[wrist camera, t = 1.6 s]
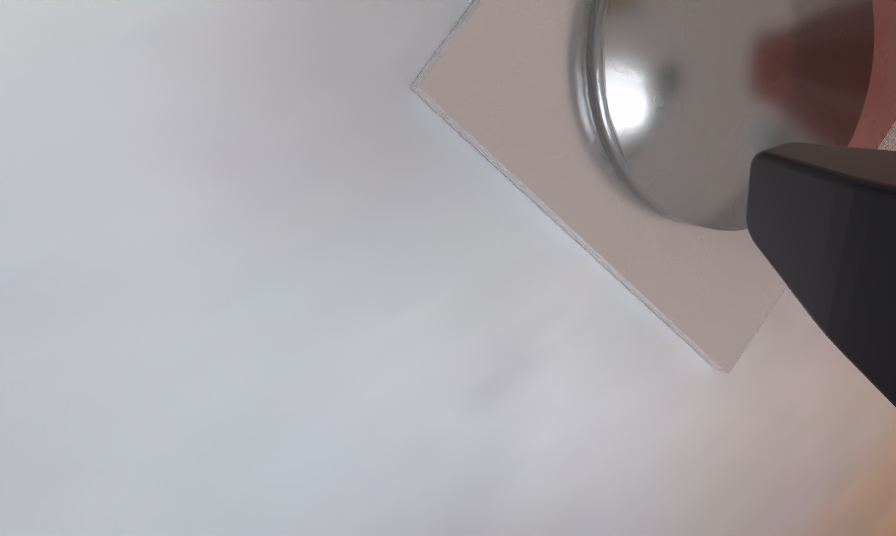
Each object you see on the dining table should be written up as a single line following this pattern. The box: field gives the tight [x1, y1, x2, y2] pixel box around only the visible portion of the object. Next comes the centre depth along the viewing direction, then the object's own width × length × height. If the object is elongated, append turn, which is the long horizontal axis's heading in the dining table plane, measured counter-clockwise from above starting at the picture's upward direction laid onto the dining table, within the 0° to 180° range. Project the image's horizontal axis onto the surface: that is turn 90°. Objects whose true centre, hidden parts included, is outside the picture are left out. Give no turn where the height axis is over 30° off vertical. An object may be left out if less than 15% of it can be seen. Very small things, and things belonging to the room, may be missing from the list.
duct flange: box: [410, 0, 896, 374], centre depth 24 cm, size 14×14×2 cm
